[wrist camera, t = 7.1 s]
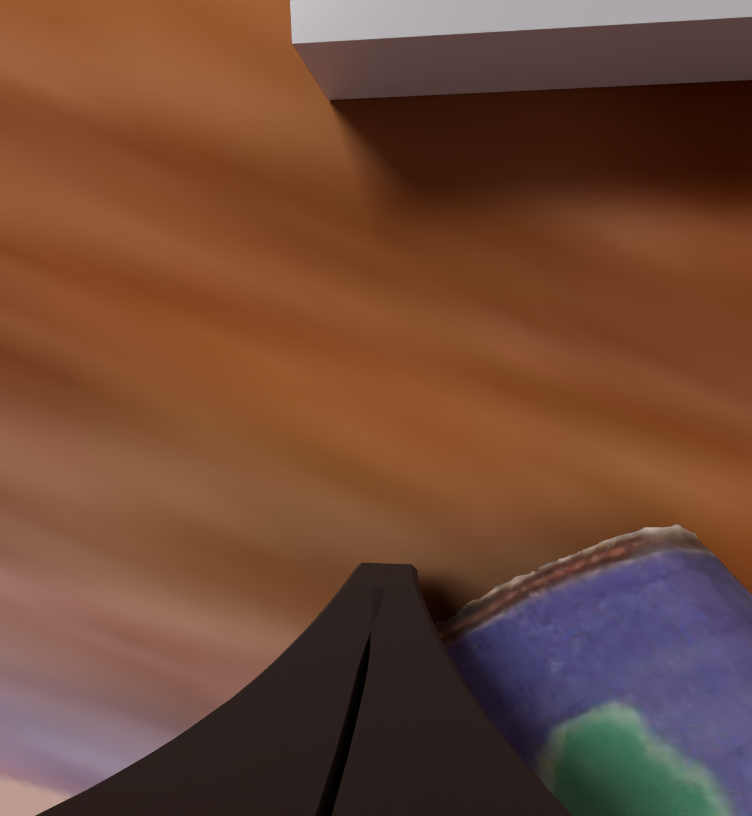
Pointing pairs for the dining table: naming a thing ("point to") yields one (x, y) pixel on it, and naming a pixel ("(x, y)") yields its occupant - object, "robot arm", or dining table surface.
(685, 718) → the flask
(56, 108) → the dining table surface
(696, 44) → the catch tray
